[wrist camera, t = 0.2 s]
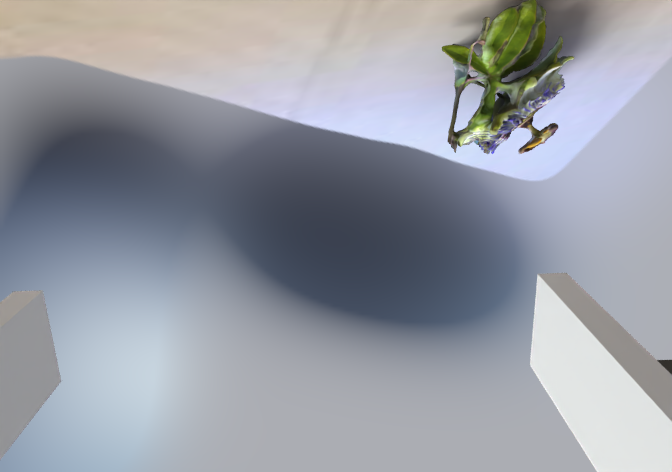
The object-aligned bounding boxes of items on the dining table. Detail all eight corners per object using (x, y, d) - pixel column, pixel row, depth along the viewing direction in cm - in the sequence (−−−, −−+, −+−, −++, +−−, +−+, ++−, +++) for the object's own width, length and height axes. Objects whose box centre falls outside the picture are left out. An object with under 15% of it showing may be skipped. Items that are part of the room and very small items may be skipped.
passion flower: (502, 43, 58) (499, 166, 57) (409, 22, 53) (406, 155, 53) (599, 2, 48) (597, 150, 47) (495, -29, 43) (492, 135, 42)
